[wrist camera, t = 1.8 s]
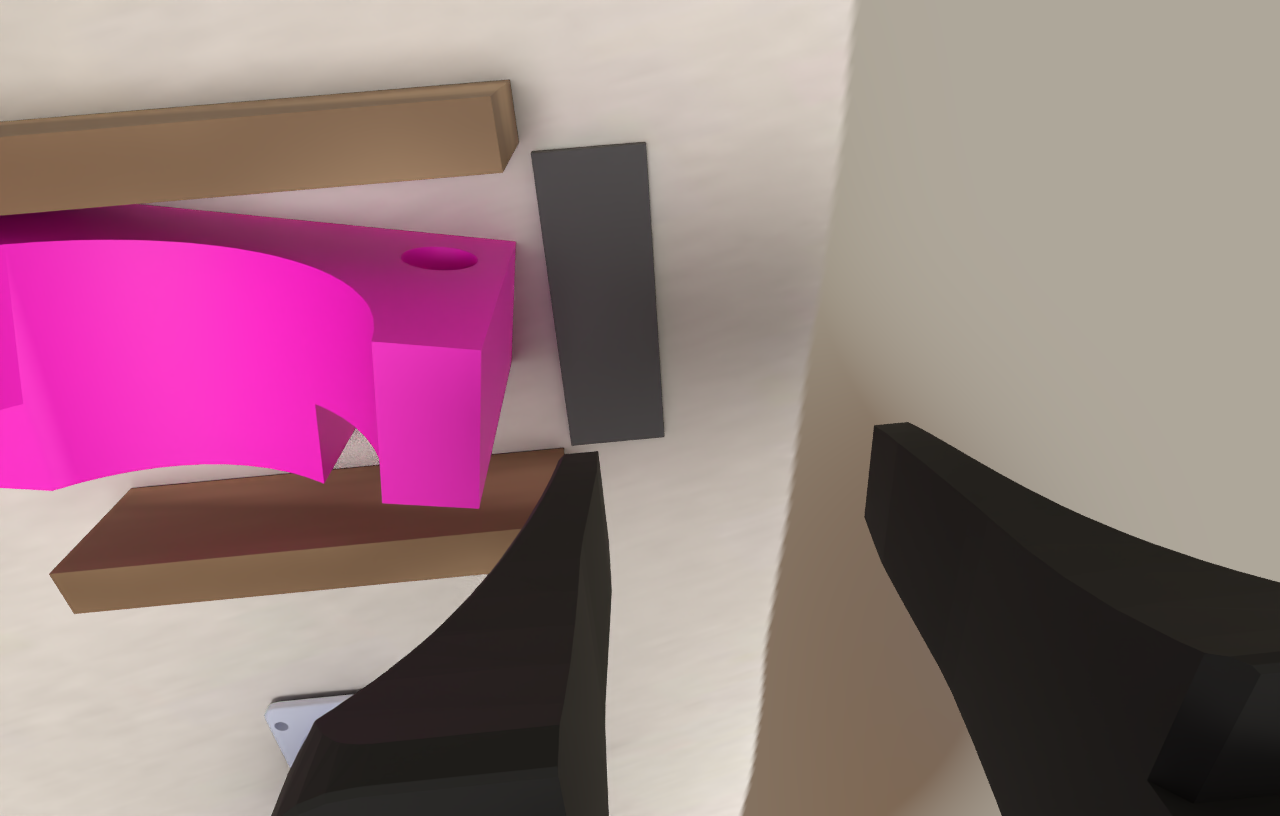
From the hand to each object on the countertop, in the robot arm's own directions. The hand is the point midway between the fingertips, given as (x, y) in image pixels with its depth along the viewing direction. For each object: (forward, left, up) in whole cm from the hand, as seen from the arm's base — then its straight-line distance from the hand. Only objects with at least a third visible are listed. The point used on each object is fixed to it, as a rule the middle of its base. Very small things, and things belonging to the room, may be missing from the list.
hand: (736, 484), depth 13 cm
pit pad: (0, +2, -9) cm, 10 cm away
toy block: (0, +12, -10) cm, 16 cm away
